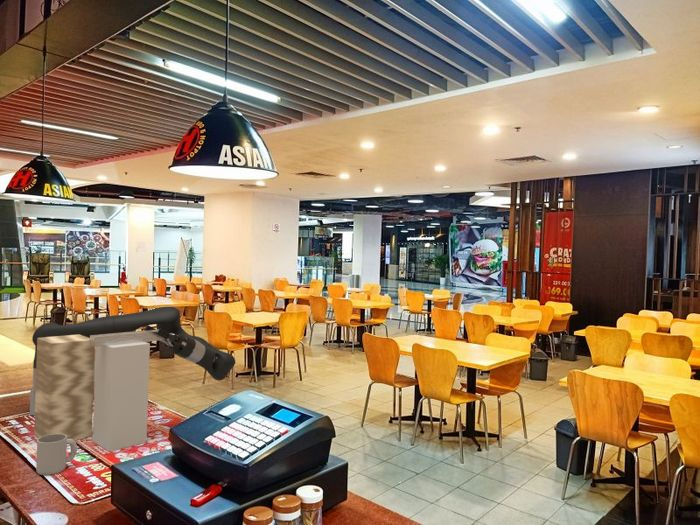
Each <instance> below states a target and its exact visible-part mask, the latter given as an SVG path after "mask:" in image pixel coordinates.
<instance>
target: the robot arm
mask: <svg viewBox="0 0 700 525" xmlns="http://www.w3.org/2000/svg"><path fill="white" fill-rule="evenodd" d="M181 324H182V323H181V313H180V310H179V309H178V308H177V307H176V306H175V307H174V306H163V307H157V308H153V309H148V310H144V311H143V310H142V311H137V312H131V313H125V314H117V315H108V316H107V315H106V316H101V317H97V318H92V319H88V320H85V321H82V322H79V323H73V324H72V323H71V324H58V323H56V322H52V321H51V322H45V323H43V324H41V325H39V327H37V328H36V329H35V330H34V332H33V334H32V338H31V340H32V343H33V345H35V348H34V357H33V363H32V364H33V365H32V367H33V368H32V370H33V371H32V388H31V389H30V392H29V393H30V394H29V416H35V394H36V361H37V338H43V337H54V336H66V335H78V334H79V335H82V336H85V337H88V338H90V335H101V334H112V333H124V332H135V331H138V330H139V329H141V328H144V327H145V328H144V331H147V330H158V329H159V330H158V332H157V335H159V336H161V337H163V338H165V340H158V341H160V342H162V343H164V344H165V345H167V346H168V347H170V346H171V351H172V353H173V354H174V355H175V356H178V357H179V358H181V359H184V360H186V361H188V362H191V363H193V364H195V365H197V366H199V367H201V368H203V370H205V371H206V372H207V373H208V374H209V375H210V376H211V377H212V378H213V379H214V380H215V381H223V380H225V379H226V377H227V376H228V374H230V372H231V370H232V369H233V367H235V365H236V358H235V356H234V355H233V354H231V353H228V352H226V351H223V350H220V349H218V348H216V347H214V346H213V345H212V344H210V342H209V341H207V340H205V339H204V338H203V337H200V336H197V335H192V334H189V333H188V332H186V331H185V330H184V329H183V328H182V326H181ZM153 325H156V328H155V327H152V326H153Z"/></svg>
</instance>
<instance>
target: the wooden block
mask: <svg viewBox="0 0 700 525" xmlns="http://www.w3.org/2000/svg"><path fill="white" fill-rule="evenodd" d="M158 330H159V329H158ZM158 330H147V331H145V330H135V331H134V332H124V333H112V334H101V335H90V345H91V346H94V347H100V346H110V345H119V344H129V343H138V342H146V343H148V342H154V341H155V342H156V341H159V340H165V338H163V337H161V336H159V335H157V332H158Z"/></svg>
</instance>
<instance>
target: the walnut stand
mask: <svg viewBox="0 0 700 525" xmlns="http://www.w3.org/2000/svg"><path fill="white" fill-rule="evenodd" d="M94 353H95V347H94V346H91V345H90V338H88V337H85V336H82V335H79V334H78V335H66V336H54V337H43V338H37V361H36V394H35V415H34V429H33V430H34V431H33V432H34V435H33V436H35V437H36V438H37V437H38V438H40V437H42V436H45V435H50V434H64V435H66V436H67V439H73V440H74V441H76V440H75V439H78V440H83V439H86V437H87V438H91V437H93V416H94V398H93V384H94ZM38 438H37V439H38Z"/></svg>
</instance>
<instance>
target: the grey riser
mask: <svg viewBox="0 0 700 525" xmlns="http://www.w3.org/2000/svg"><path fill="white" fill-rule="evenodd" d="M150 347H151V343H150V342H149V343H148V342H138V343H129V344H119V345H110V346H100V347H96V356H95V387H94V398H93V417H92V443H95V444H96V445H98V446H99V447H101V448H103V449H104V450H105V451H107V452H108V453H109V452H113V451H118V450H121V449H126V448H130V447H133V446H137V445H140V444H144V443H147V438H148V437H147V436H148V435H147V434H148V411H149V410H148V409H149V382H150V377H149V376H150V353H151V352H150V351H151V350H150V349H151V348H150Z"/></svg>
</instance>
